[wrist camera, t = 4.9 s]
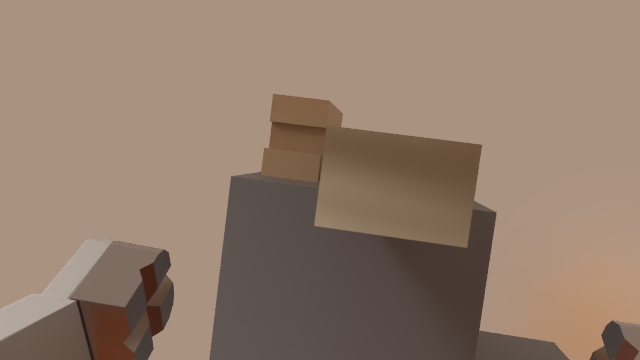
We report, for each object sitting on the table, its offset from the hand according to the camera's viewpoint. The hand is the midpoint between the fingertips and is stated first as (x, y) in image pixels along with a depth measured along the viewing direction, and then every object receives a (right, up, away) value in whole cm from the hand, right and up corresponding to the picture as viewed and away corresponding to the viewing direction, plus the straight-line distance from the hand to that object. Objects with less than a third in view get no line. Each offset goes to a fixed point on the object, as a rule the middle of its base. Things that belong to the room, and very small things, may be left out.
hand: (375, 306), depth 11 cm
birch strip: (+2, +2, +13) cm, 14 cm away
